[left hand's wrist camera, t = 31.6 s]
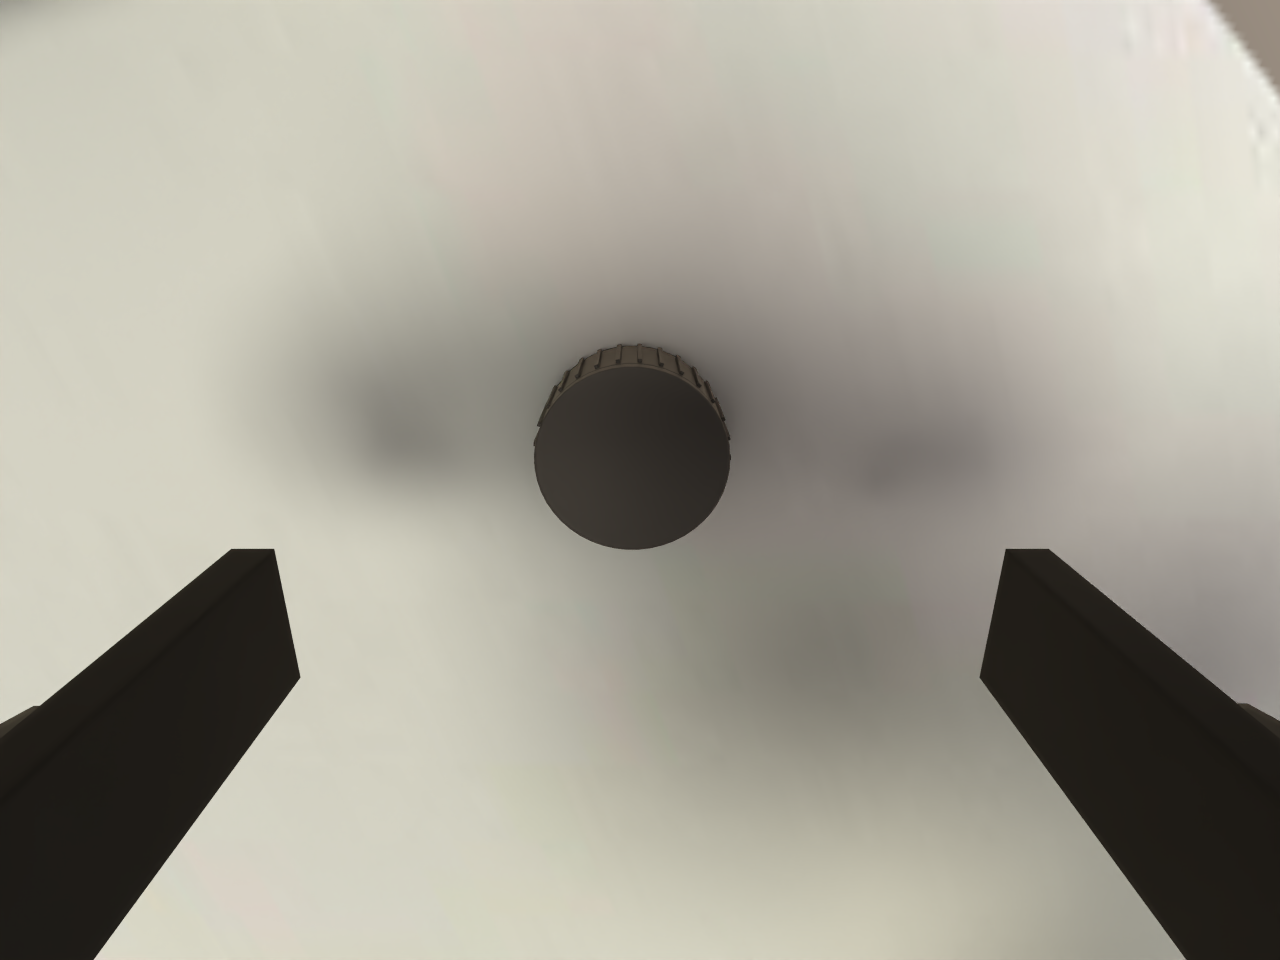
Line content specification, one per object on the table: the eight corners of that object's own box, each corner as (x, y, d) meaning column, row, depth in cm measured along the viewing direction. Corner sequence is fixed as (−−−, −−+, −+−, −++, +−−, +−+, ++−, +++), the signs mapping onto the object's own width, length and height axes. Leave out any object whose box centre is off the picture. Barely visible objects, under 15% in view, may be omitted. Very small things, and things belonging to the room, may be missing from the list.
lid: (707, 326, 18) (717, 344, 16) (734, 496, 20) (746, 534, 18) (522, 362, 19) (507, 385, 17) (566, 526, 21) (557, 567, 18)
